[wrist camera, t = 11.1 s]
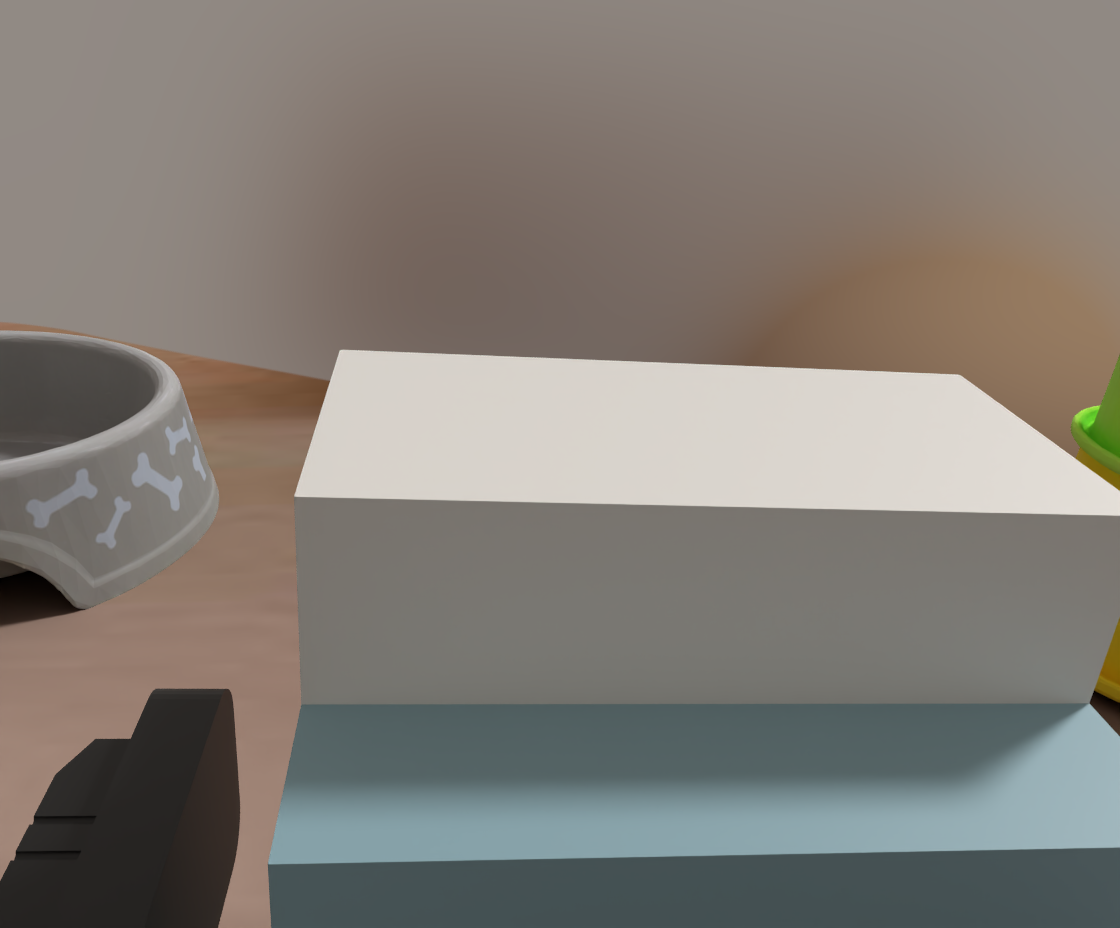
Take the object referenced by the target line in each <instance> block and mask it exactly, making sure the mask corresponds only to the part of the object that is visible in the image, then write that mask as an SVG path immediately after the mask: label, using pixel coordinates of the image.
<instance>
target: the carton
mask: <svg viewBox="0 0 1120 928" xmlns="http://www.w3.org/2000/svg"><path fill="white" fill-rule="evenodd" d="M294 505H295V534H296V562H297V591H298V620H299V649H300V678H301V709H300V714H299V719H298V723H297V728H296V733H295V738H294V742H293V747H292V752H291V757H290V761H289V766H288V771H287V776H286V781H285V785H284V790H283V795H282V800H281V804H280V809H279V814H278V819H277V823H276V828H275V833H274V838H273V843H272V847H271V852H270V857H269V862H268V875H269V893H270V911H271V928H1120V736H1119V735H1118V734H1117V733H1116V732H1115V731H1114V730H1113V729H1112V728H1111V727H1110V726H1109V724H1108V723H1107V722H1106V721H1105V720H1104V719H1103V718H1102V717H1101V716H1100V715H1099V713H1098V712H1097V711H1096V710H1095V709H1094V708H1093V707H1092V706H1091V705H1090V704H1089V703H1090V700H1091V697H1092V694H1093V692H1094V689H1095V686H1096V683H1097V680H1098V677H1099V674H1100V672H1101V669H1102V666H1103V663H1104V660H1105V657H1106V654H1107V652H1108V649H1109V646H1110V643H1111V640H1112V637H1113V634H1114V632H1115V629H1116V626H1117V623H1118V620H1119V617H1120V491H1119V490H1118V489H1116V488H1115V487H1114V486H1112V485H1111V484H1109V483H1108V482H1107V481H1105V480H1104V479H1103V478H1101V477H1100V476H1098V475H1097V474H1096V473H1094V472H1093V471H1091V470H1090V469H1089V468H1087V467H1086V466H1085V465H1083V464H1082V463H1080V462H1079V461H1078V460H1076V459H1075V458H1074V457H1072V456H1071V455H1069V454H1068V453H1067V452H1065V451H1064V450H1063V449H1061V448H1060V447H1058V446H1057V445H1056V444H1054V443H1053V442H1052V441H1050V440H1049V439H1047V438H1046V437H1045V436H1043V435H1042V434H1041V433H1039V432H1038V431H1036V430H1035V429H1034V428H1032V427H1031V426H1029V425H1028V424H1027V423H1025V422H1024V421H1023V420H1021V419H1020V418H1018V417H1017V416H1016V415H1014V414H1013V413H1012V412H1010V411H1009V410H1007V409H1006V408H1005V407H1003V406H1002V405H1001V404H999V403H998V402H996V401H995V400H993V399H992V398H991V397H990V396H988V395H987V394H985V393H984V392H983V391H981V390H980V389H979V388H977V387H976V386H974V385H973V384H972V383H970V382H969V381H968V380H966V379H965V378H963V377H962V376H961V375H953V374H952V375H951V374H928V373H903V372H878V371H854V370H828V369H827V370H826V369H804V368H779V367H754V366H729V365H705V364H704V365H703V364H679V363H678V364H677V363H655V362H653V363H652V362H631V361H630V362H629V361H606V360H580V359H555V358H531V357H506V356H481V355H457V354H430V353H407V352H382V351H358V350H340V352H339V355H338V358H337V361H336V365H335V368H334V371H333V374H332V377H331V381H330V384H329V387H328V390H327V393H326V397H325V400H324V403H323V406H322V409H321V413H320V416H319V419H318V422H317V425H316V429H315V432H314V435H313V438H312V441H311V445H310V448H309V451H308V454H307V457H306V461H305V464H304V467H303V470H302V473H301V477H300V480H299V483H298V486H297V489H296V493H295V496H294Z"/></svg>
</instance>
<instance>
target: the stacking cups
mask: <svg viewBox="0 0 1120 928" xmlns="http://www.w3.org/2000/svg"><path fill="white" fill-rule="evenodd" d="M1071 433H1072V435H1073V437H1074V439H1075V441H1076V442H1077V444H1078V445H1079V446H1080V449H1079V451H1078V454H1077V457H1076V460H1078V461H1079V462H1080V463H1082V464H1083V465H1085V466H1086V467H1087V468H1089V469H1090V470H1091V471H1093V472H1094V473H1096V474H1097V475H1098V476H1100V477H1101V478H1103V479H1104V480H1105V481H1107V482H1108V483H1109V484H1111V485H1112V486H1114V487H1115V488H1116V489H1118V490H1119V491H1120V355H1119V358H1118V361H1117V363H1116V366H1115V369H1114V372H1113V374H1112V377H1111V380H1110V383H1109V385H1108V387H1107V390H1106V393H1105V395H1104V398H1103V400H1102V403H1101V405H1100V406H1094V407H1091V408H1087V409H1084V410H1082V411H1080V412H1079V413H1078V414H1076V415H1075V416H1074V418H1073V420H1072V424H1071ZM1094 691H1096V692H1098V693H1100V694H1102V695H1104V696H1106V697H1108V698H1110V699H1113V700H1115V701H1117V702H1119V703H1120V617H1119V620H1118V623H1117V626H1116V629H1115V632H1114V634H1113V637H1112V640H1111V643H1110V646H1109V649H1108V652H1107V654H1106V657H1105V660H1104V663H1103V666H1102V669H1101V672H1100V674H1099V677H1098V680H1097V683H1096V686H1095V689H1094Z"/></svg>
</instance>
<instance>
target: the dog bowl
mask: <svg viewBox="0 0 1120 928" xmlns="http://www.w3.org/2000/svg"><path fill="white" fill-rule="evenodd" d="M218 505H219V492H218V488H217V485H216V482H215V479H214V476H213V473H212V471H211V469H210V467H209V466H208V463H207V460H206V457H205V454H204V451H203V448H202V445H201V442H200V440H199V437H198V434H197V431H196V428H195V425H194V422H193V419H192V416H191V413H190V410H189V408H188V405H187V402H186V399H185V396H184V393H183V390H182V387H181V384H180V381H179V379H178V378H177V376H176V374H175V373H174V371H173V370H172V369H171V368H170V367H169V366H168V365H167V364H165V363H164V362H163V361H161V360H160V359H158V358H156V357H154V356H152V355H150V354H148V353H147V352H144V351H141V350H139V349H136V348H133V347H130V346H127V345H123V344H120V343H116V342H111V341H107V340H103V339H97V338H91V337H84V336H77V335H69V334H60V333H47V332H30V331H0V578H3V577H7V576H11V575H15V574H19V573H23V572H26V571H33V572H35V573H37V574H39V575H41V576H43V577H45V578H46V579H47V580H48V581H49V582H50V583H52V584H53V585H54V586H55V587H56V588H57V589H58V590H59V591H60V592H61V593H62V594H63V595H64V596H65V598H66V599H67V600H68V601H69V602H70V603H71V604H72V605H73V606H74V607H76V608H82V609H89V608H91V607H94V606H96V605H98V604H101V603H103V602H105V601H107V600H110V599H112V598H114V597H117V596H119V595H121V594H123V593H125V592H127V591H129V590H131V589H133V588H135V587H136V586H138V585H140V584H142V583H144V582H145V581H147V580H148V579H150V578H152V577H153V576H155V575H156V574H158V573H159V572H161V571H163V570H164V569H166V568H167V567H168V566H170V565H171V564H172V563H174V562H175V561H176V560H178V559H179V558H180V557H181V556H183V555H184V554H185V553H186V552H187V551H189V550H190V549H191V548H192V547H193V546H194V545H195V544H196V543H197V542H198V541H199V540H200V539H201V537H202V536H203V535H204V534H205V533H206V531H207V530H208V529H209V527H210V525H211V524H212V522H213V520H214V518H215V516H216V513H217V510H218Z"/></svg>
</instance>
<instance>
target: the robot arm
mask: <svg viewBox="0 0 1120 928" xmlns="http://www.w3.org/2000/svg"><path fill="white" fill-rule="evenodd" d="M239 824H240V796H239V781H238V766H237V752H236V737H235V722H234V708H233V699H232V695H231V692H230V690H229V689H155V690H154V691H153V692H152V693H151V695H150V697H149V699H148V701H147V703H146V705H145V708H144V710H143V712H142V714H141V717H140V719H139V721H138V723H137V726H136V728H135V730H134V732H133V735H132V737H131V739H95V740H94V741H93V742H92V743H90V744H89V745H88V746H87V747H86V748H85V749H84V750H83V751H81V752H80V753H79V754H78V755H77V756H76V757H75V758H74V759H72V760H71V761H70V762H69V763H68V764H67V765H66V766H65V767H63V768H62V769H61V770H60V771H59V772H58V773H57V774H56V775H55V776H54V778H53V780H52V782H51V784H50V786H49V788H48V790H47V792H46V794H45V796H44V798H43V800H42V802H41V803H40V805H39V807H38V809H37V811H36V813H35V815H34V822H33V825H29V827H28V829H27V830H26V832H25V834H24V836H23V838H22V840H21V842H20V844H19V846H18V848H17V850H16V856H15V860H14V861H10V863H9V865H8V867H7V869H6V871H5V873H4V875H3V877H2V879H1V881H0V928H218V925H219V921H220V917H221V914H222V910H223V906H224V902H225V898H226V894H227V890H228V886H229V882H230V878H231V875H232V871H233V867H234V862H235V857H236V851H237V845H238V836H239Z"/></svg>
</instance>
